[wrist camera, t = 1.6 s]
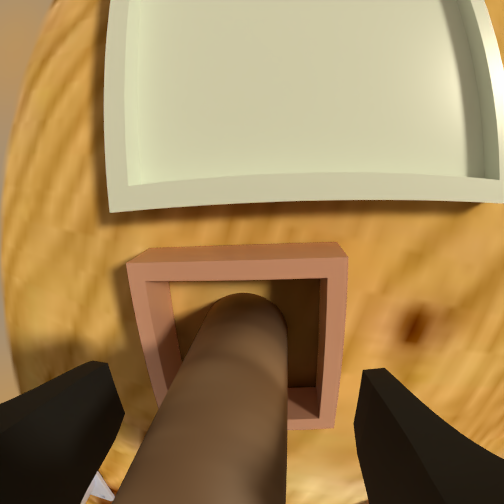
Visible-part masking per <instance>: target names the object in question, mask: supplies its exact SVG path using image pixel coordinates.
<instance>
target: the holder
mask: <svg viewBox="0 0 504 504" xmlns="http://www.w3.org/2000/svg"><path fill="white" fill-rule="evenodd" d="M126 267H127V273H128V279H129V285H130V291H131V296H132V302H133V307H134V312H135V317H136V322H137V326H138V331H139V335H140V340H141V344H142V349H143V353H144V357H145V361H146V365H147V369H148V373H149V377H150V380H151V384H152V388H153V391H154V395H155V398H156V402H157V405H158V408H160V406H161V404H162V402H163V400H164V398H165V396H166V394H167V392H168V390H169V388H170V386H171V384H172V382H173V380H174V378H175V376H176V374H177V372H178V370H179V368H180V366H181V364H182V360H181V355H180V349H179V344H178V338H177V332H176V327H175V321H174V314H173V308H172V301H171V295H170V288H169V281H220V280H271V279H307V278H320V307H319V337H318V359H317V377H316V387H302V388H288V420H287V430H306V429H326V428H334V423H335V416H336V408H337V401H338V393H339V384H340V376H341V366H342V356H343V345H344V332H345V318H346V302H347V281H348V256H347V255H346V253H345V252H344V251H343V249H342V248H341V247H340V245H339V244H338V243H337V242H319V243H285V244H254V245H224V246H195V247H167V248H149V249H148V250H146V251H144V252H143V253H141V254H140V255H138V256H136V257H135V258H133V259H132V260H130V261H128V262H127V263H126Z"/></svg>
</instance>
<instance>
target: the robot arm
mask: <svg viewBox="0 0 504 504" xmlns="http://www.w3.org/2000/svg"><path fill="white" fill-rule="evenodd" d="M124 415H125V412H124V410H123V407H122V404H121V402H120V399H119V396H118V393H117V390H116V387H115V384H114V381H113V378H112V375H111V372H110V369H109V366H108V363H103V362H97V361H90V362H87V363H85V364H82V365H80V366H78V367H76V368H74V369H72V370H70V371H68V372H66V373H64V374H62V375H60V376H58V377H56V378H54V379H52V380H50V381H48V382H46V383H44V384H42V385H41V386H39V387H37V388H35V389H33V390H30V391H28V392H26V393H24V394H22V395H19V396H17V397H15V398H13V399H11V400H9V401H6V402H4V403H1V404H0V504H85V503H86V501H87V500H88V498H89V496H90V494H92V495H94V496H97V497H100V498H103V499H106V500H109V501H113V500H114V498H115V496H114V495H113V493H112V492H111V490H110V489H109V487H108V486H107V484H106V483H105V481H104V479H103V478H102V476H101V475H100V473H99V472H98V470H99V468H100V466H101V464H102V462H103V461H104V459H105V457H106V455H107V454H108V452H109V450H110V448H111V446H112V444H113V443H114V441H115V439H116V436H117V434H118V431H119V429H120V426H121V423H122V420H123V417H124ZM354 431H355V440H356V447H357V455H358V459H359V463H360V467H361V471H362V475H363V479H364V483H365V487H366V491H367V496H368V500H369V504H504V459H502V458H500V457H498V456H496V455H495V454H493V453H491V452H489V451H488V450H486V449H484V448H483V447H481V446H479V445H478V444H476V443H474V442H473V441H471V440H470V439H468V438H467V437H465V436H464V435H463V434H461V433H460V432H459V431H457V430H456V429H454V428H453V427H452V426H450V425H449V424H448V423H446V422H445V421H444V420H443V419H441V418H440V417H439V416H438V415H436V414H435V413H434V412H433V411H432V410H430V409H429V408H428V407H427V406H426V405H425V404H424V403H422V402H421V401H420V400H419V399H418V398H417V397H416V396H415V395H413V394H412V393H411V392H410V391H409V390H408V389H407V388H406V387H405V386H404V385H403V384H402V383H400V382H399V381H398V380H397V379H396V378H395V377H394V376H393V375H392V374H391V373H390V372H389V371H388V370H386V369H385V368H378V369H368V370H363V372H362V379H361V385H360V391H359V397H358V403H357V409H356V414H355V419H354Z"/></svg>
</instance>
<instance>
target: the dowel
mask: <svg viewBox="0 0 504 504" xmlns="http://www.w3.org/2000/svg"><path fill="white" fill-rule="evenodd" d="M287 420H288V343H287V324H286V321H285V318H284V316H283V314H282V313H281V311H280V310H279V309H278V308H277V307H276V306H275V305H274V304H273V303H272V302H271V301H269V300H267V299H266V298H264V297H261V296H259V295H255V294H250V293H237V294H232V295H229V296H226V297H224V298H222V299H220V300H219V301H217V302H216V303H215V304H214V305H213V306H212V307H211V309H210V310H209V312H208V314H207V316H206V318H205V320H204V322H203V324H202V325H201V327H200V329H199V331H198V333H197V335H196V337H195V339H194V341H193V343H192V345H191V347H190V349H189V351H188V353H187V355H186V357H185V359H184V361H183V362H182V364H181V366H180V368H179V370H178V372H177V374H176V376H175V378H174V380H173V382H172V384H171V386H170V388H169V390H168V392H167V394H166V396H165V398H164V400H163V402H162V404H161V406H160V408H159V410H158V412H157V414H156V416H155V418H154V420H153V422H152V424H151V426H150V428H149V430H148V432H147V434H146V436H145V438H144V440H143V442H142V444H141V446H140V448H139V450H138V452H137V454H136V456H135V458H134V460H133V462H132V464H131V466H130V468H129V470H128V472H127V474H126V476H125V478H124V480H123V482H122V484H121V486H120V488H119V490H118V492H117V494H116V496H115V498H114V500H113V502H112V504H286V473H287Z"/></svg>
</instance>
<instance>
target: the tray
mask: <svg viewBox="0 0 504 504" xmlns="http://www.w3.org/2000/svg"><path fill="white" fill-rule="evenodd" d="M104 142H105V162H106V177H107V190H108V201H109V210H110V213H114V212H124V211H135V210H147V209H159V208H172V207H186V206H201V205H217V204H236V203H257V202H282V201H318V200H431V201H464V202H486V203H504V70H503V65H502V61H501V56H500V52H499V48H498V44H497V40H496V36H495V33H494V29H493V26H492V23H491V19H490V16H489V13H488V10H487V7H486V4H485V1H484V0H111V1H110V8H109V17H108V27H107V38H106V52H105V72H104Z"/></svg>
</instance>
